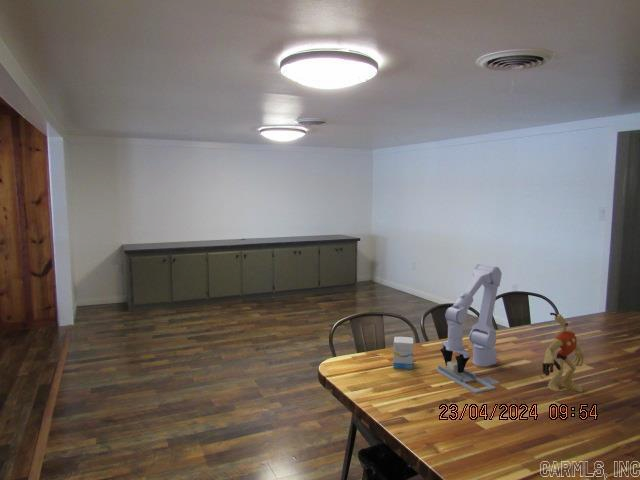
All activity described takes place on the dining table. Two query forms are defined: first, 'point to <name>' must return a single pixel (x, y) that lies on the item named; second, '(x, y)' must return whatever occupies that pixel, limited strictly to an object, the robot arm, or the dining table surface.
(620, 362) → the dining table surface
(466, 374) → the rail board
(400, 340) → the ink box
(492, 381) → the pad
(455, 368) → the block
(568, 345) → the toy
